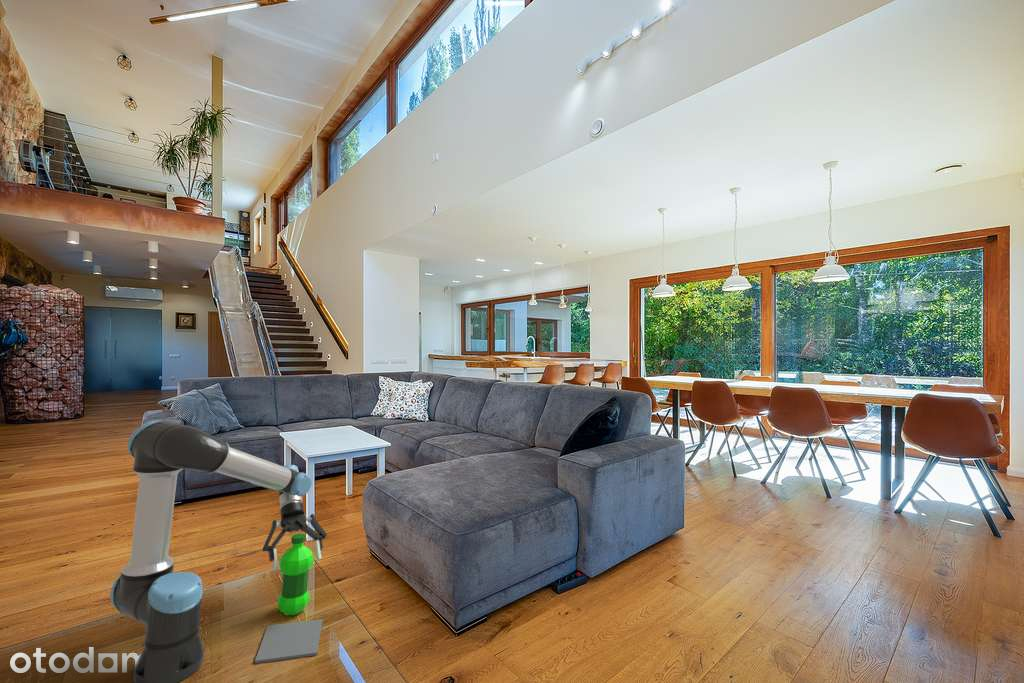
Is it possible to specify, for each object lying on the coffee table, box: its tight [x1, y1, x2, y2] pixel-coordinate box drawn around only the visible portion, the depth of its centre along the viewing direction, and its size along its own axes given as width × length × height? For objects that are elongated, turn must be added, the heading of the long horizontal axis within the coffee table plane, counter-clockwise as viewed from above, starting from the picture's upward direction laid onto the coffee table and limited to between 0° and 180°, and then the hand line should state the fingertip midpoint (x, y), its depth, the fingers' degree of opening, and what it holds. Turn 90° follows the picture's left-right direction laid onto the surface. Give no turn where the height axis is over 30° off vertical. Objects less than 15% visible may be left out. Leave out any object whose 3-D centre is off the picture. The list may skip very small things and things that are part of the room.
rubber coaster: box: [254, 618, 324, 664], centre depth 132 cm, size 16×16×1 cm
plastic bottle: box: [277, 532, 315, 616], centre depth 147 cm, size 10×10×25 cm
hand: (298, 564), depth 148 cm, fingers open, 13 cm apart
